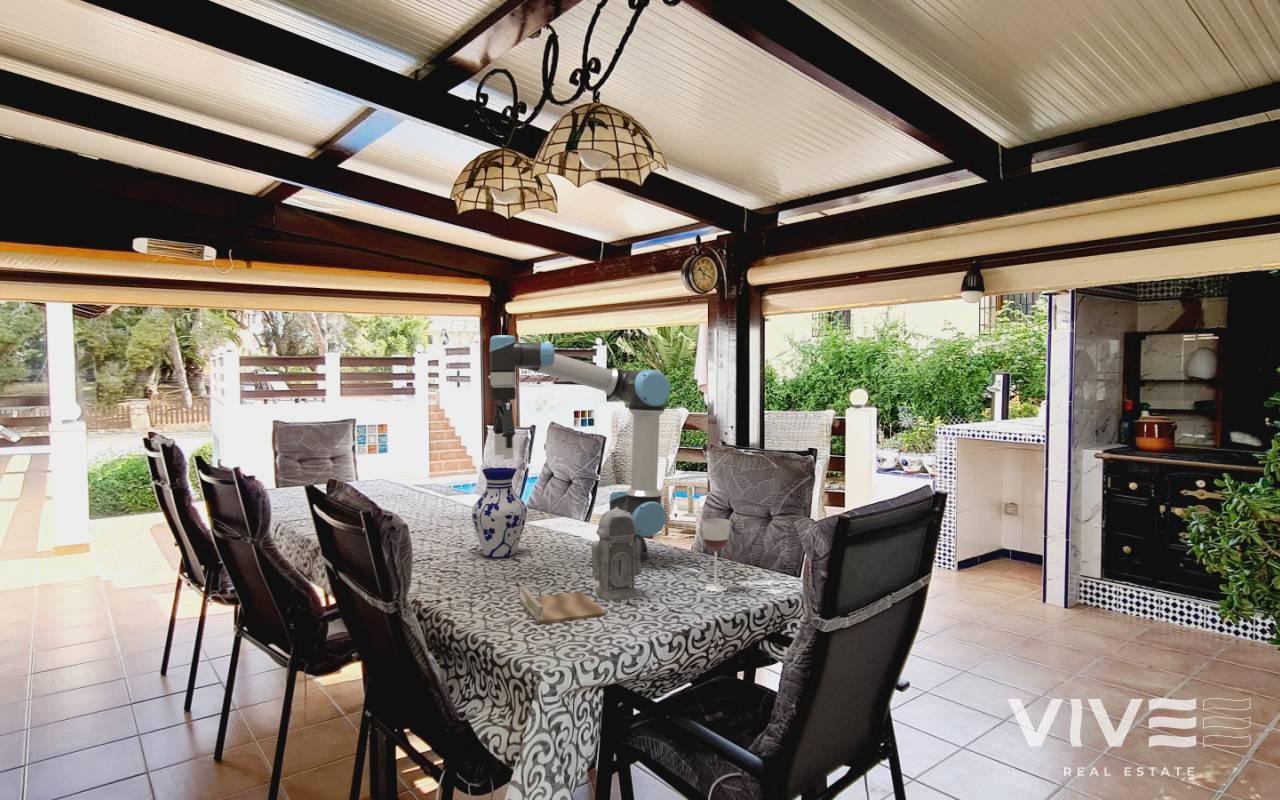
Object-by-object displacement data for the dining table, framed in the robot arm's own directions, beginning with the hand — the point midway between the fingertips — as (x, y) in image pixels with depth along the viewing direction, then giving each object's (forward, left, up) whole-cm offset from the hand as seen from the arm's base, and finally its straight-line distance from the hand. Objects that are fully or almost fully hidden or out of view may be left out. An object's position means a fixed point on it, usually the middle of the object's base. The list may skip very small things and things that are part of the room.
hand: (503, 456), depth 218 cm
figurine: (-27, +26, -38) cm, 53 cm away
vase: (-6, -34, -38) cm, 52 cm away
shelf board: (-9, +33, -38) cm, 51 cm away
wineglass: (-56, +32, -38) cm, 74 cm away
